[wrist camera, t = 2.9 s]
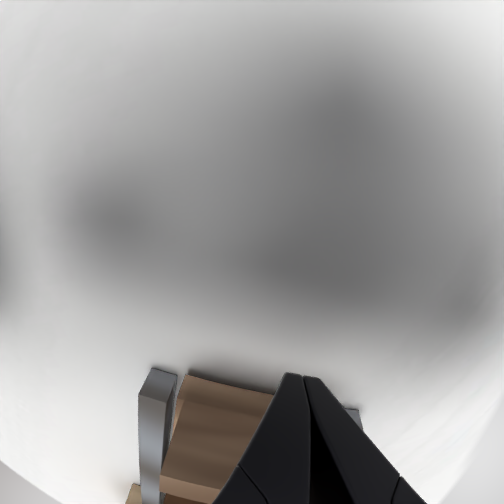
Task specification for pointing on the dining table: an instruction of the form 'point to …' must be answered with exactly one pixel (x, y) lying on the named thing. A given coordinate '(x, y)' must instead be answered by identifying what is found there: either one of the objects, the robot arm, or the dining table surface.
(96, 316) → the dining table surface
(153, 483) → the tunnel track
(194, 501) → the sled
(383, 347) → the dining table surface
